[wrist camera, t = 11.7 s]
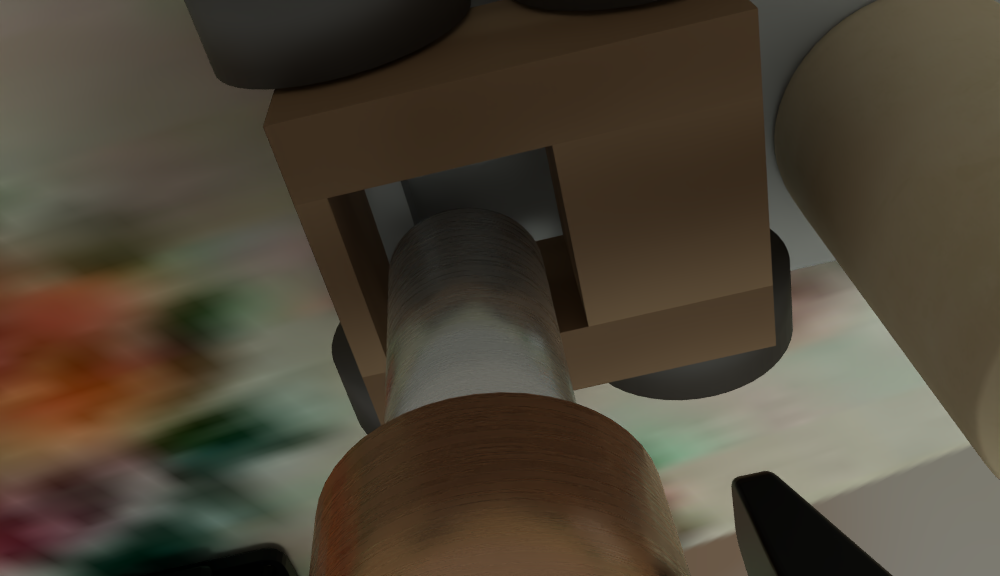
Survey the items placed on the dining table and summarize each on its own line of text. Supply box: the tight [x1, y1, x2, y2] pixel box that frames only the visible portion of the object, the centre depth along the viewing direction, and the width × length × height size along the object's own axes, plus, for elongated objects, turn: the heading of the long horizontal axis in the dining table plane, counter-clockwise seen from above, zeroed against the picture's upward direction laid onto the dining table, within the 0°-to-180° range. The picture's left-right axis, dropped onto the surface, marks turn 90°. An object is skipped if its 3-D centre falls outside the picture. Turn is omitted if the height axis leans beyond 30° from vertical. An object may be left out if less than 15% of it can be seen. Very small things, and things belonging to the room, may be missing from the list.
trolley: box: [184, 0, 793, 434], centre depth 16 cm, size 9×9×5 cm
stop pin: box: [309, 207, 691, 576], centre depth 10 cm, size 4×4×9 cm
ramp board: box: [364, 0, 1000, 271], centre depth 19 cm, size 10×18×2 cm, turn 102°
